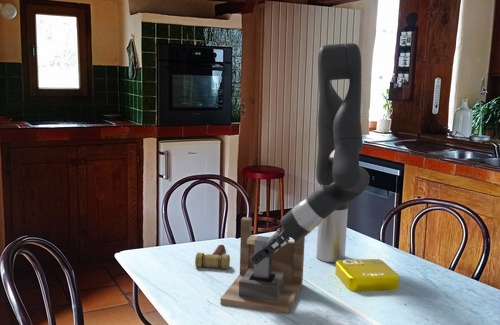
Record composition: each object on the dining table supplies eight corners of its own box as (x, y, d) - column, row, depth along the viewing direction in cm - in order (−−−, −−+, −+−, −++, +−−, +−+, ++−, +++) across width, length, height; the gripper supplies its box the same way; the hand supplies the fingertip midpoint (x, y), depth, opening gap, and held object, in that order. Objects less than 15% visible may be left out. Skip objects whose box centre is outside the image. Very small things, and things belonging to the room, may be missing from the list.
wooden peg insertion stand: (241, 276, 156) (243, 216, 153) (302, 284, 152) (305, 223, 149) (220, 303, 137) (221, 236, 134) (288, 314, 133) (292, 244, 130)
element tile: (349, 293, 147) (351, 276, 147) (333, 273, 162) (334, 258, 161) (400, 291, 150) (402, 275, 149) (379, 271, 164) (381, 256, 164)
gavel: (208, 238, 182) (237, 240, 181) (208, 251, 182) (237, 253, 181) (195, 254, 161) (227, 256, 160) (194, 269, 161) (227, 271, 160)
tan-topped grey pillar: (250, 270, 144) (251, 235, 143) (271, 273, 143) (272, 237, 141) (246, 275, 140) (247, 239, 139) (268, 278, 139) (269, 241, 137)
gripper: (298, 202, 143) (253, 240, 148) (287, 214, 130) (238, 256, 135) (316, 223, 143) (271, 261, 148) (308, 237, 129) (258, 279, 134)
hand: (255, 258), depth 141 cm, fingers closed on tan-topped grey pillar, 4 cm apart
